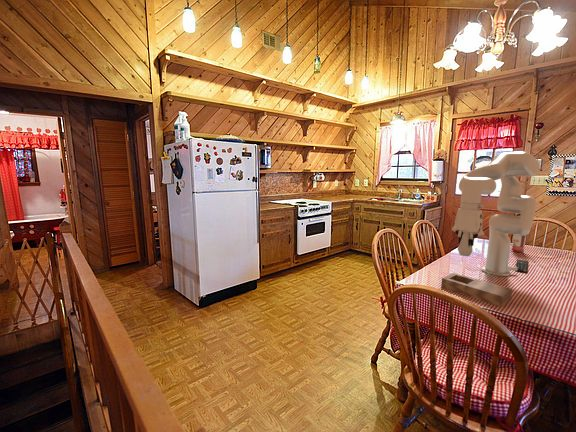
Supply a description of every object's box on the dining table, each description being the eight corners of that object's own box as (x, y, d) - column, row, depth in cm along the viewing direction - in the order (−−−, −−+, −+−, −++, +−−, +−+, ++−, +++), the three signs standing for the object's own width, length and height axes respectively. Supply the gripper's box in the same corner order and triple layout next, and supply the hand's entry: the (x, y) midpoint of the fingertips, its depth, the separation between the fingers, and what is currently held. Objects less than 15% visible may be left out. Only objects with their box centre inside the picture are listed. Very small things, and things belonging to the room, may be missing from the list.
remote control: (528, 263, 173) (528, 261, 173) (526, 274, 155) (527, 272, 155) (517, 261, 176) (517, 259, 176) (514, 272, 158) (514, 269, 158)
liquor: (527, 253, 191) (533, 211, 186) (516, 253, 191) (522, 211, 186) (518, 250, 198) (524, 209, 193) (507, 250, 198) (513, 209, 193)
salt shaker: (454, 253, 135) (457, 225, 133) (465, 252, 136) (469, 225, 134) (462, 256, 130) (466, 228, 127) (474, 256, 130) (478, 228, 128)
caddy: (511, 299, 125) (512, 289, 124) (501, 306, 118) (502, 296, 117) (452, 281, 144) (453, 272, 143) (441, 287, 137) (442, 278, 136)
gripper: (494, 207, 125) (489, 249, 128) (454, 203, 137) (450, 241, 141) (487, 209, 120) (482, 252, 123) (447, 205, 133) (443, 243, 136)
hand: (465, 245), depth 132 cm, fingers closed on salt shaker, 3 cm apart
